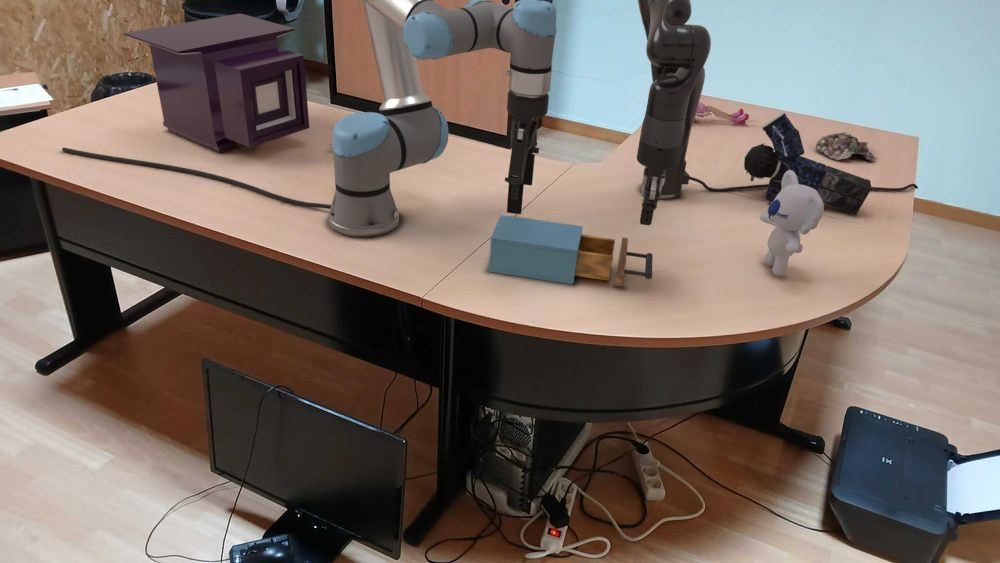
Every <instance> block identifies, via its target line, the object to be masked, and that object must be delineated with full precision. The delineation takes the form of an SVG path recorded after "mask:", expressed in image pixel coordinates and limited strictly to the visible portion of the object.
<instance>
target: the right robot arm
mask: <svg viewBox="0 0 1000 563" xmlns="http://www.w3.org/2000/svg"><path fill="white" fill-rule="evenodd" d="M637 3H638V9H639V14H640V17H641V22H642V26H643V28H644V31H645V36H646V49H645V50H646V53H645V54H646V56H647V59H648V60H649V62H650V70H651V71H650V72H651V79H652V83H651V84H650V87H649V91H648V96H647V97H648V98H647V104H646V109H645V114H644V118H643V120H642V123H641V130H640V136H639V140H638V147H637V151H636V152H637V153H636V161H637V162H638V163H639V165H641V166H643V167H644V168H643V173H642V183H641V186H640V190H641V197H642V198H641V212H640V217H639V224H640V225H643V226H651V225H652V223H653V217H654V211H656V210H657V208H658V202H659V199H660V200H661V199H662V200H669V199H670V200H671V199H674V198H678V199H679V198H680V196H681V192H682V186H684V185H685V186H687V185H688V184H689V181H693V182H696V183H698V184H700V185H701V186H703V187H704V188H705V189H706V190H708V191H709V192H716V193H719V192H729V191H741V190H751V189H759V188H760V189H761V188H768V185H769V183H766V184H764V183H763V184H754V185H745V186H744V185H743V186H742V185H741V186H731V187H724V188H714V187H710V186H708V185H707V184H706V183H705V182H704V181H703V180H701V179H699V178H697V177H694V176H691V175H690V174H689V173H688V171H686V167H687V160H686V156H687V151H688V146H689V141H690V136H691V132H692V127H693V124H694V122H695V121H694V119H695V118H696V117H697V116H696V113H697V108H698V104H699V102H700V100H701V96H702V93H703V89H704V86H705V81H706V70H705V69H706V68H705V67H704V66H705V64H706V63H707V60H708V58H709V56H710V53H711V48H712V39H711V35H710V32H709V30H708V29H707V28H706V27H705V26H703V25H700V24H687V23H688V21H689V20H690V18H691V16H692V12H693V11H692V3H691V0H637ZM871 187H872V189H871V191H884V192H901V191H906V190H907V189H909V188H912V187H913V188H914V189H916V190H917V189H919V186H918V185H917V184H915V183H910V184H908V185H905V186H903V187H878V186H871Z"/></svg>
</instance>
